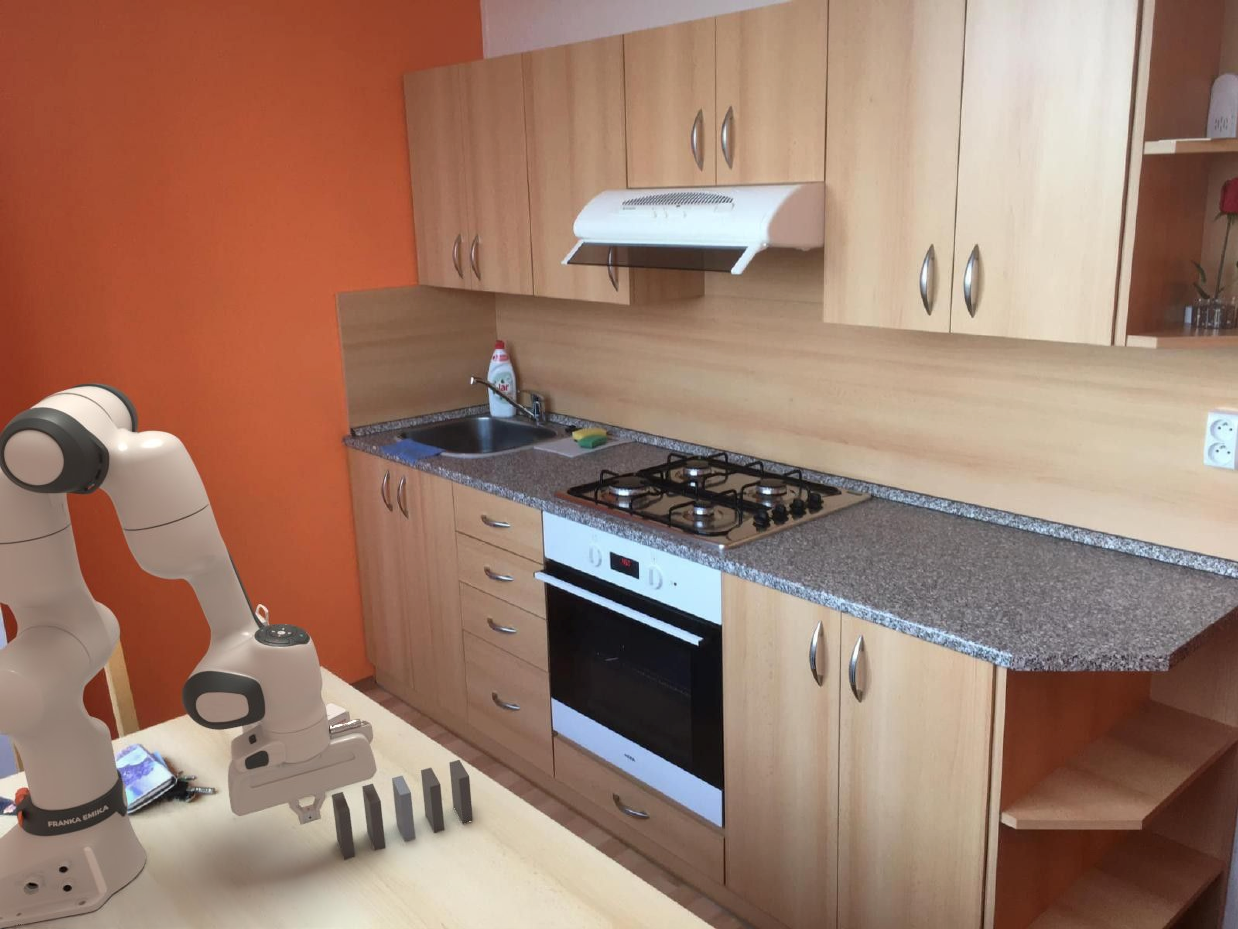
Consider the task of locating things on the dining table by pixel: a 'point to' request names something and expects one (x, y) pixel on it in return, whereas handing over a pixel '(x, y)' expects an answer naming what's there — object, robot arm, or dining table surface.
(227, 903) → the dining table surface
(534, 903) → the dining table surface
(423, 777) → the domino
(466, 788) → the domino
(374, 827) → the domino
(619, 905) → the dining table surface
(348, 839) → the domino
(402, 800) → the domino
